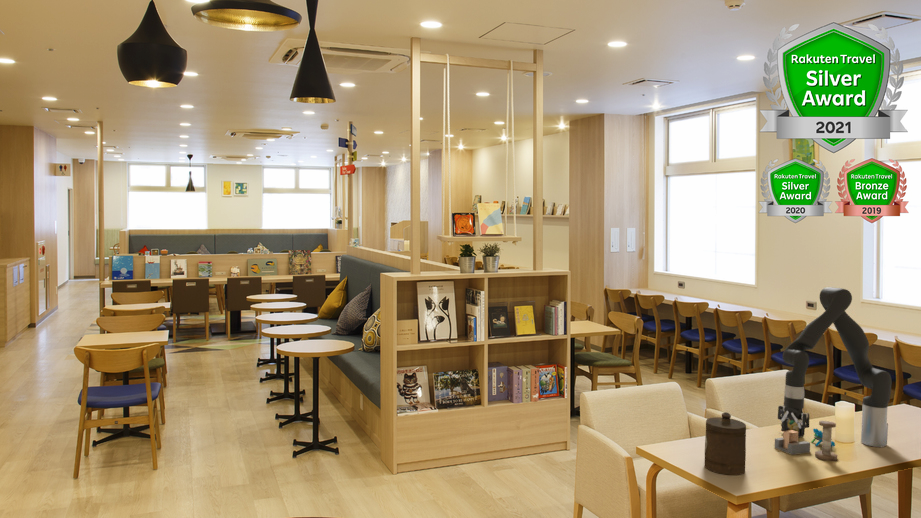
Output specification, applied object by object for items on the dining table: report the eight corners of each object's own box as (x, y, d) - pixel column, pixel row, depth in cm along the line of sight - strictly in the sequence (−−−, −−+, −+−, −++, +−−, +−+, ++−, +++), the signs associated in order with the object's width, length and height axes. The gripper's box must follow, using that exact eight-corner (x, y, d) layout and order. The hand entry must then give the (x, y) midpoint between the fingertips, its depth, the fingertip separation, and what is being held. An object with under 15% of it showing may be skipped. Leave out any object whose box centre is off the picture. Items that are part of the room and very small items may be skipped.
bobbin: (824, 453, 272) (826, 419, 272) (841, 459, 265) (843, 424, 264) (810, 455, 270) (811, 420, 269) (827, 461, 262) (828, 426, 261)
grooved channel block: (792, 445, 282) (792, 436, 282) (809, 452, 274) (810, 442, 273) (774, 447, 279) (774, 438, 278) (791, 454, 270) (792, 445, 270)
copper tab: (792, 446, 278) (792, 430, 278) (797, 448, 275) (798, 432, 275) (783, 447, 276) (783, 431, 276) (788, 449, 273) (789, 433, 273)
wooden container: (719, 458, 264) (721, 405, 263) (753, 470, 252) (755, 414, 251) (696, 465, 256) (698, 411, 255) (729, 478, 244) (731, 420, 243)
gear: (840, 446, 276) (823, 429, 277) (831, 456, 276) (814, 439, 277) (826, 441, 287) (809, 425, 288) (817, 451, 287) (800, 434, 288)
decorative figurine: (777, 433, 298) (778, 401, 297) (787, 430, 303) (788, 398, 302) (797, 439, 290) (798, 406, 289) (807, 436, 295) (809, 403, 294)
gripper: (815, 399, 269) (813, 438, 270) (787, 391, 283) (785, 427, 284) (801, 400, 267) (800, 439, 268) (773, 392, 280) (772, 429, 281)
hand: (792, 433), depth 276 cm, fingers open, 8 cm apart
